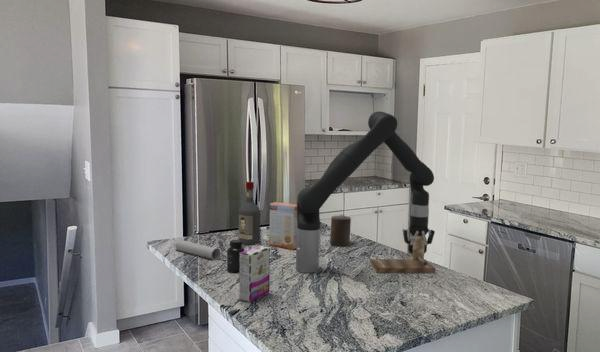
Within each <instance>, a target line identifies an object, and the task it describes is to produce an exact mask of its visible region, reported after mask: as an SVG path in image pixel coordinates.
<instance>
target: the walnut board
mask: <svg viewBox="0 0 600 352" xmlns="http://www.w3.org/2000/svg"><path fill="white" fill-rule="evenodd" d="M424 261H427V265H424V264H423V263H422V262H421V261H420V260H419V259H410V258H409V259H405V258H404V259H403V258H402V259H400V258H399V259H395V258H394V259H393V258H391V259H390V258H389V259H387V258H384V259H383V258H382V259H381V258H380V259H378V258H377V259H376V258H374V259H373V258H371V259H370V265H371V266H372V268H373V269H374V270H375V271H376V273H377V274H413V273H414V274H436V267H435V266H434V265H432V264H431V262H429V261H428V260H426V259H424Z"/></svg>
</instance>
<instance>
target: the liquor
mask: <svg viewBox="0 0 600 352" xmlns="http://www.w3.org/2000/svg"><path fill="white" fill-rule="evenodd" d="M254 183H255V182H254V181H245V188H246V191H245V192H246V193H245V194H246V195H245V202H243V204H242V205H241V206H240V207H239V210H238V240H242V245H245V246H253V245H257V244H260V241H261V235H260V234H261V209H260V207H259V205H257V204H256V203H255V200H254V186H255V185H254Z"/></svg>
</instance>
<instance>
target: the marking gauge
mask: <svg viewBox="0 0 600 352" xmlns="http://www.w3.org/2000/svg"><path fill="white" fill-rule="evenodd" d="M412 238H413V236H412ZM424 246H425V241H424V239H423V236H417V237H416V239H415V241H414V240H413V253H409V254H410V258H409V259H419V260H420V261H421V262H422V263H423V264H424V265H427V261H428V260H426V261H424V260H425V254H424Z"/></svg>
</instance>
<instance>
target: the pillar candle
mask: <svg viewBox="0 0 600 352" xmlns="http://www.w3.org/2000/svg"><path fill="white" fill-rule="evenodd" d="M351 222H352V218H351V216H346V215H332V216H331V221H330V237H329V243H330V245H331V246H334V247H339V248H340V247H341V248H343V247H344V248H345V247H349V246H350V245H351V243H350V242H351Z"/></svg>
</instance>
